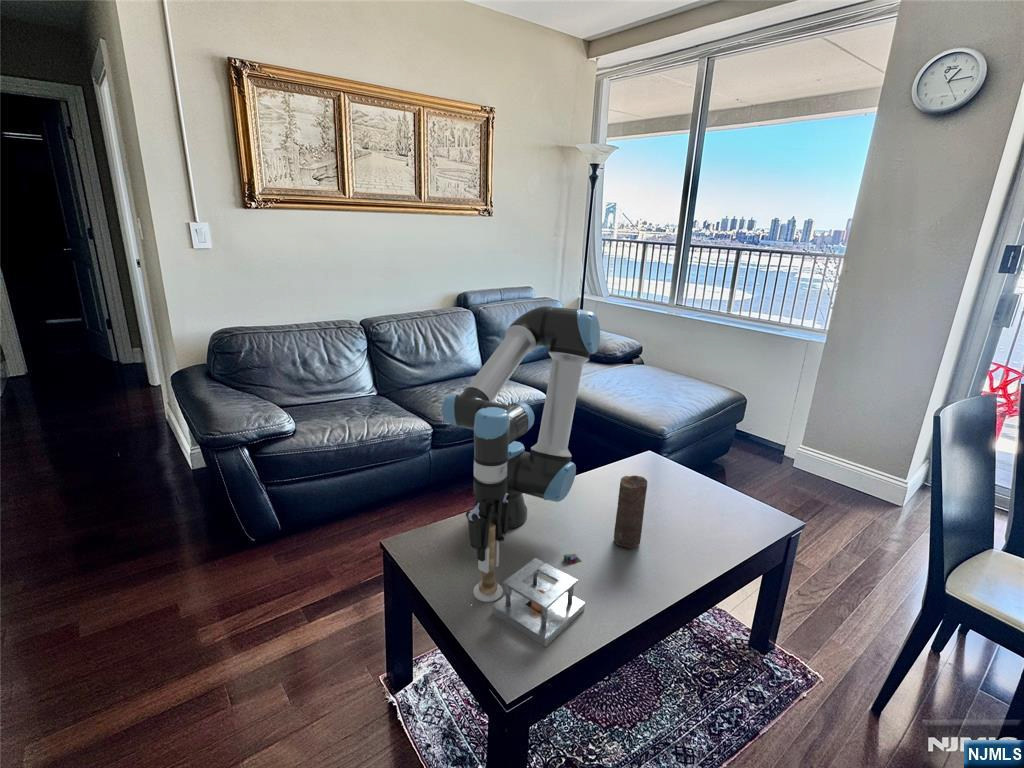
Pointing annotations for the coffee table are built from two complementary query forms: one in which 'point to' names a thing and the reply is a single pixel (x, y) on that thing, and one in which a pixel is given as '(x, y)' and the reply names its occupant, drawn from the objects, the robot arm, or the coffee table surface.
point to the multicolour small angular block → (571, 558)
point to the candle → (630, 511)
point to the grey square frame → (539, 602)
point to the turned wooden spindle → (488, 582)
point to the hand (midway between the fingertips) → (488, 566)
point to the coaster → (487, 597)
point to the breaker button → (535, 606)
